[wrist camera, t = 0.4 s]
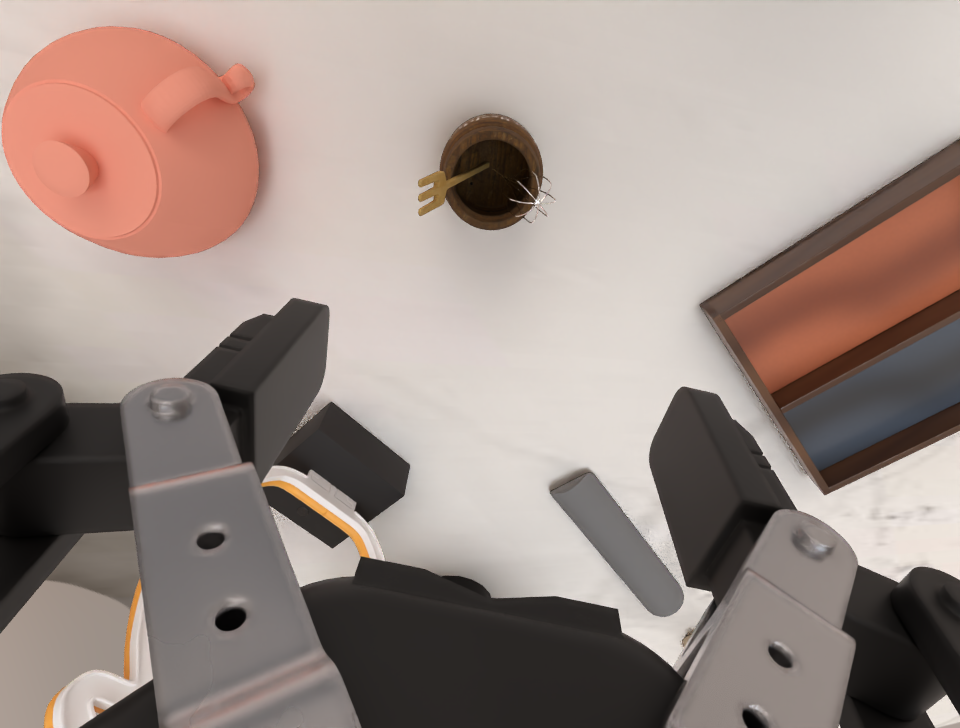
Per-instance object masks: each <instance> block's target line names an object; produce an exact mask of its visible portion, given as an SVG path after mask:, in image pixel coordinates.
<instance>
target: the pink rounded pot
mask: <svg viewBox="0 0 960 728" xmlns="http://www.w3.org/2000/svg"><path fill="white" fill-rule="evenodd" d="M254 86H255V83H254V79H253V76H252V74H251V73H250V71H249V70H248V69H247V68H246V67H244V66H243V65H241V64H238V63H237V64H235V65H233V66H232V67H231V68H230V69H229V70H228V71H227V72H226V74H225V75H223V76H220V77H218V76H217V75H216V74H215V73H214V72H213V71H212V70H211V69H210V68H209V67H208V66H207V65H206V64H205V63H204V62H203V61H202V60H200V59H199V58H198V57H197V56H196V55H194V54H193V53H192V52H190V51H189V50H187V49H185V48H184V47H182V46H181V45H179V44H178V43H176V42H174V41H172V40H170V39H168V38H166V37H164V36H161V35H158V34H155V33H152V32H150V31H145V30H141V29H136V28H127V27H113V26H108V27H96V28H91V29H86V30H83V31H79V32H75V33H72V34H69V35H67V36H64V37H62V38H60V39H58V40H56V41H54V42H52V43H51V44H49V45H48V46H46V47H45V48H44V49H42V50H41V51H40V52H38V53H37V54H36V55H35V56H34V57H33V58H32V59H31V60H30V61H29V62H28V63H27V64H26V65H25V67H24V68H23V70H22V71H21V72H20V74H19V76H18V77H17V79H16V81H15V82H14V84H13V87H12V89H11V92H10V94H9V97H8V99H7V102H6V105H5V108H4V113H3V118H2V143H3V148H4V153H5V156H6V159H7V162H8V165H9V167H10V169H11V171H12V174H13V176H14V177H15V179H16V181H17V182H18V184H19V186H20V187H21V188H22V190H23V191H24V192H25V194H26V195H27V196H28V197H29V198H30V200H31V201H32V202H33V203H34V204H35V205H36V206H37V207H38V208H39V209H40V210H41V211H42V212H43V213H45V214H46V215H47V216H48V217H50V218H51V219H52V220H53V221H55V222H56V223H58V224H59V225H61V226H62V227H64V228H65V229H67V230H68V231H70V232H72V233H74V234H76V235H78V236H80V237H82V238H84V239H86V240H88V241H91V242H93V243H95V244H98V245H100V246H103V247H105V248H108V249H111V250H115V251H118V252H121V253H125V254H129V255H135V256H142V257H153V258H165V257H180V256H184V255H189V254H194V253H198V252H201V251H204V250H207V249H209V248H211V247H213V246H215V245H217V244H219V243H221V242H222V241H224V240H226V239H227V238H228V237H230V236H231V235H232V234H233V233H235V232H236V231H237V229H238V228H239V227H240V226H241V225H242V224H243V222H244V221H245V219H246V218H247V216H248V215H249V213H250V210H251V208H252V206H253V204H254V200H255V197H256V193H257V187H258V179H259V162H258V154H257V148H256V144H255V140H254V136H253V134H252V131H251V128H250V126H249V123H248V121H247V119H246V117H245V115H244V113H243V111H242V109H241V107H240V105H239V104H238V102H240V101H242V100H243V99H245V98H246V97H247V96H248V95H249V94H250V93H251V92H252V91H253V89H254Z"/></svg>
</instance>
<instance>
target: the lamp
mask: <svg viewBox="0 0 960 728" xmlns="http://www.w3.org/2000/svg"><path fill="white" fill-rule="evenodd" d="M409 468H410V465H409V464H408V463H407V462H405V461H404V460H403V459H402V458H400V457H399V456H398V455H397V454H395V453H394V452H393V451H392V450H390V449H389V448H388V447H387V446H386V445H384V444H383V443H382V442H381V441H379V440H378V439H377V438H376V437H374V436H373V435H372V434H371V433H369V432H368V431H367V430H366V429H365V428H363V427H362V426H361V425H360V424H358V423H357V422H356V421H355V420H353V419H352V418H351V417H350V416H348V415H347V414H346V413H345V412H344V411H342V410H341V409H340V408H339V407H337V406H336V405H335V404H334V403H332V402H330V403H329V404H328V405H327V406H326V407H325V408H323V409H322V410H321V411H320V412H319V413H318V414H317V415H315V416H314V417H313V418H312V419H311V420H310V421H309V422H308V423H306V424H305V425H304V426H303V427H302V428H301V429H300V430H298V431H297V432H296V433H295V434H294V435H293V436H292V437H290V439H289V440H288V442H287V443H286V445H285V447H284V448H283V450H282V451H281V453H280V455H279V456H278V458H277V459H276V461H275V463H274V464H273V466H272V467H271V469H270V471H269V472H268V474H267V475H266V477H265V479H264V480H263V482H262V483H261V485H262V488H263V491H264V493H265V496H266V499H267V501H268V504H269V505H270V506H271V507H273V508H274V509H276V510H277V511H278V512H280V513H281V514H283V515H284V516H286V517H287V518H289V519H290V520H292V521H293V522H295V523H296V524H297V525H299V526H300V527H302V528H303V529H305V530H306V531H308V532H309V533H311V534H312V535H314V536H315V537H316V538H318V539H319V540H321V541H322V542H324V543H325V544H327V545H328V546H330V547H331V548H334V547H335V546H337V545H338V544H339V543H341V542H342V541H343V540H345V539H346V538H348V537H349V536H350V538H351V539H352V540H353V541H354V543H355V545H356V547H357V549H358V552H359V554H360V557H361V556H363V557H367V558H372V559H377V560H382V561H386V560H385V557H384V554H383V551H382V548H381V546H380V543H379V541H378V539H377V537H376V535H375V533H374V531H373V529H372V528H371V527H370V525H369V524H368V522H369V521H371V520H372V519H373V518H375V517H376V516H377V515H379V514H380V513H381V512H383V511H384V510H385V509H387V508H388V507H389V506H391V505H392V504H394V503H395V502H396V501H398V500H399V499H400V498H402V497H403V496H404V494H405V489H406V484H407V479H408V473H409ZM124 650H125V651H124V678H122V677H120V676H117V675H115V674H113V673H110V672H107V671H104V670H92V671H88V672H85V673H83V674H82V675H80V676H78V677H77V678H75V679H74V680H73V681H72V682H70V683H69V684H68V685H67V686H65V687H64V688H62V689H61V690H60V691H59V692H58V693H57V694H56V695H55V696H54V697H53V698H52V700H51V701H50V703H49V704H48V706H47V709H46V713H45V719H44V728H79V727H80V726H82V725H83V724H85V723H86V722H88V721H89V720H91V719H93V718H94V717H96V713H95V712H97V713H99V714H100V713H102V712H103V711H105V710H106V709H108V708H109V707H111V706H112V705H114V704H115V703H117V702H118V701H120V700H122V699H123V698H125V697H126V696H128V695H129V694H131V693H132V692H134V691H135V690H137V689H138V688H140V687H141V686H143V685H144V684H146V683H148V682H149V681H151V680H152V679H153V675H152V667H151V659H150V651H149V643H148V636H147V628H146V620H145V612H144V604H143V597H142V589H141V581H140V579H139V582H138V585H137V587H136V591H135V594H134V598H133V602H132V605H131V609H130V615H129V620H128V625H127V632H126V641H125V649H124Z"/></svg>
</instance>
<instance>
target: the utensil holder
mask: <svg viewBox="0 0 960 728" xmlns="http://www.w3.org/2000/svg"><path fill="white" fill-rule="evenodd" d="M542 178H545V177H543V164H542V159H541V155H540V152H539V149H538V147H537V145H536V143H535V141H534V139H533V138H532V137H531V135H530V134H529V133H528V131H527V130H526V129H525V128H524V127H523V126H522V125H520V124H519V123H518V122H516V121H515V120H513V119H511V118H509V117H506V116H503V115H499V114H483V115H479V116H476V117H473V118H471V119H469V120H467V121H466V122H464V123H463V124H462V125H461V126H459V127H458V128H457V129H456V131H455V132H454V133H453V134H452V136H451V137H450V139H449V140H448V142H447V144H446V146H445V148H444V151H443V154H442V157H441V162H440V171H438V172H435V173H433V174H431V175H429V176H427V177H425V178H422V179H420V180H419V181H418V186H419V187H423V186H425V185H428V184H430V183H433V182H434V186H433V188H431V189H429V190H427V191H425V192H423V193H421V194H419V196H418V200H419V201H420V202H422V201H424V200H426V199H428V198H430V197H432V196H434V199H433V201H431V202H430V203H428V204H427V205H425V206H423V207H422V208H420V209H419V211H418V214H419V216H422V215H424V214H426V213H428V212H429V211H431V210H433V209H435V208H437V207H439V206H441V205H442V204H444V201H445V198H446V200H447V201H448V203H449V205H450V206H451V208H452V209H453V211H454V212H455V213H456V214H457V215H458V216H459V217H460V218H461V219H462V220H463V221H465V222H466V223H468V224H469V225H471V226H474V227H476V228H479V229H484V230H499V229H503V228H507V227H509V226H512V225H513V224H515V223H517V222H518V221H520V220H521V219H522V218H524V216H525V215H526V214H527V213H528V212H530V211H531V210H533V209H534V208H535V207H536V206H537V205H538V208H539V206H540V207H541V208H542V206H541V205H540V204H551V203H554V202H556V199H555V198H554V197H552V196H551V195H549V194H548V193H549V191H550V189H551V185H552V184H551V182H550V181H549V180H548V179H547V178H545V179H547V180H548V181H549V182H550V184H551V185H550V189H549V191H548V193H546V192H544V191H541V190H540V188H541V184H542ZM540 191H541V192H544V193H546V195H545V197H546V196H547V194H548V195H549V196H551V197H552V198H553V199H554V200H555V201H554V202H550V203H540V202H541V201H542V200H543V199H544V198H545V197H544V198H543V199H542V200H541V201H540V202H539V198H538V202H537V200H536V199H537V196H538V194H539V197H540ZM535 201H536V202H537V203H535ZM538 203H539V204H538ZM534 204H537V205H536V206H535V205H534ZM532 206H535V207H534V208H532ZM531 208H532V209H531ZM536 208H537V207H536ZM538 208H537V214H538V210H539V209H538ZM530 209H531V210H530ZM542 209H543V208H542ZM539 211H540V210H539ZM543 211H544V212H545V210H544V209H543ZM540 212H541V213H543V212H542V211H540ZM545 213H546V212H545ZM537 214H536V217H537ZM543 214H544V213H543ZM544 215H545V214H544ZM545 216H547V217H548V215H547V213H546V215H545ZM536 217H535V219H534V221H535V220H536ZM524 219H525V218H524ZM525 220H526V221H528V220H527V219H525ZM534 221H533V222H534ZM528 222H529V221H528ZM533 222H529V223H533Z"/></svg>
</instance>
